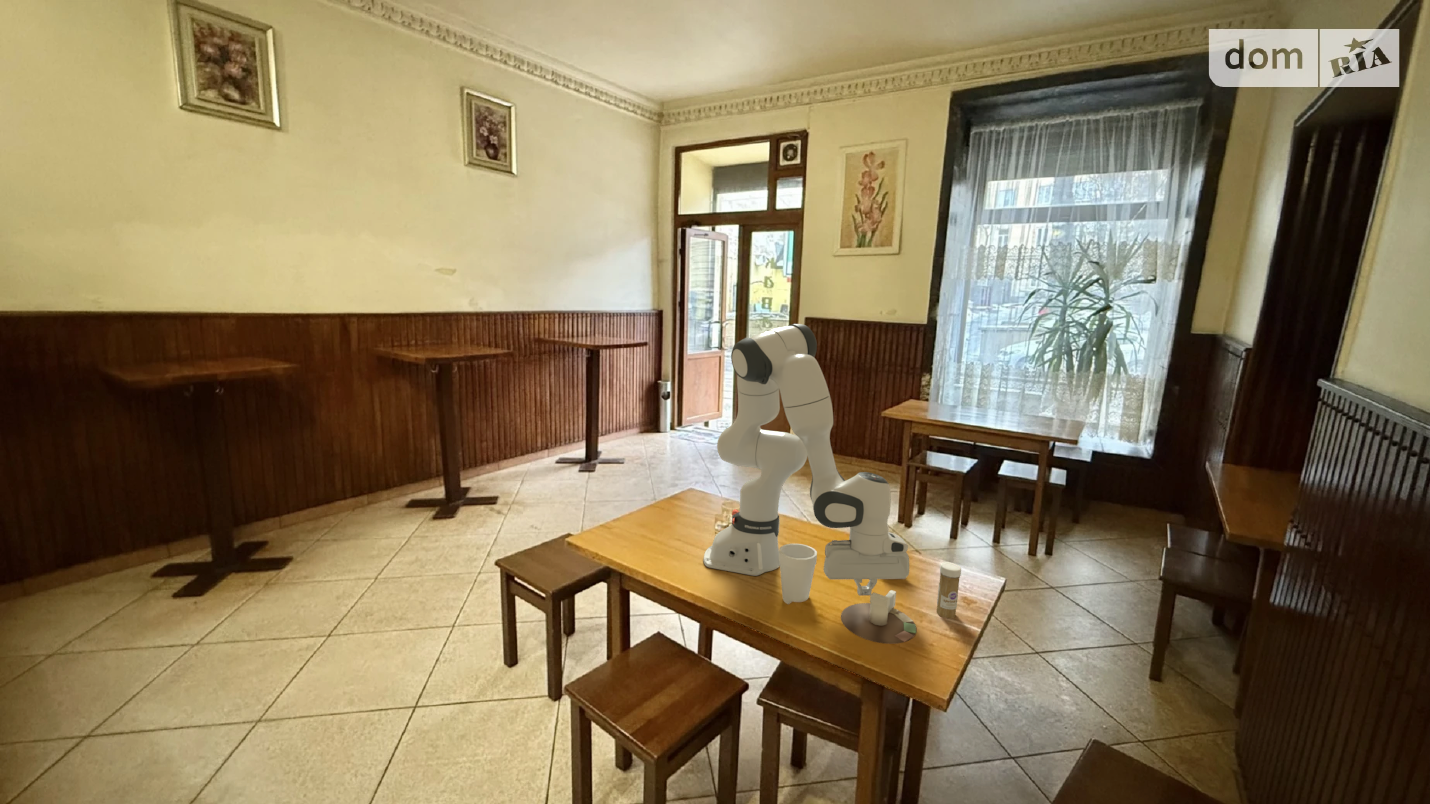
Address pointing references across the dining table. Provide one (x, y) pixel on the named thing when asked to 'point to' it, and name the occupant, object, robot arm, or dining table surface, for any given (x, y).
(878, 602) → the cream toy mallet
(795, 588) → the foam cup
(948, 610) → the sprinkles bottle
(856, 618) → the dial
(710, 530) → the dining table surface
